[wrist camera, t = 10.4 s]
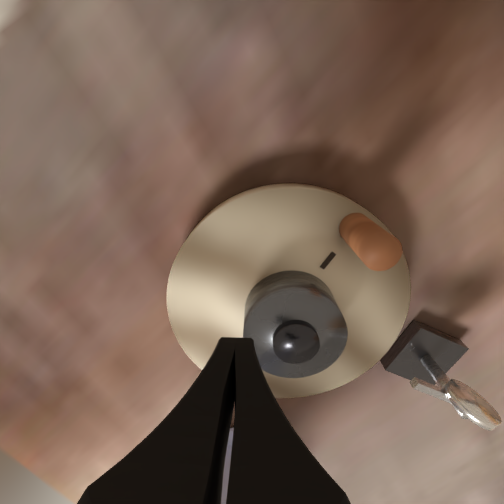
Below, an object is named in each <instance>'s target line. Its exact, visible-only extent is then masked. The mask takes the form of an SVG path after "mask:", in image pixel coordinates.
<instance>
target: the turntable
mask: <svg viewBox="0 0 504 504" xmlns="http://www.w3.org/2000/svg"><path fill="white" fill-rule="evenodd" d="M290 270H294V271H302V272H306V273H309V274H312V275H314V276H316V277H318V278H319V279H321V280H322V281H323V282H324V283H325V284H326V285H327V286H328V287H329V289H330V291H331V292H332V294H333V296H334V298H335V300H336V303H337V305H338V307H339V309H340V311H341V313H342V315H343V317H344V319H345V322H346V325H347V330H348V337H347V342H346V346H345V348H344V350H343V352H342V354H341V355H340V357H339V358H338V359H337V360H336V361H335V362H334V363H333V364H332V365H331V366H329V367H328V368H326V369H325V370H323V371H321V372H319V373H317V374H314V375H311V376H307V377H302V378H284V377H278V376H275V375H272V374H269V373H267V372H265V371H263V370H262V371H263V374H264V376H265V379H266V381H267V383H268V385H269V387H270V389H271V391H272V393H273V395H274V397H275V398H297V397H306V396H311V395H316V394H320V393H323V392H327V391H330V390H333V389H335V388H338V387H340V386H343V385H345V384H347V383H349V382H350V381H352V380H354V379H356V378H358V377H359V376H360V375H362V374H363V373H365V372H366V371H368V370H369V369H370V368H371V367H372V366H374V365H375V364H376V363H377V362H378V361H379V360H380V359H381V358H382V357H383V356H384V355H385V354H386V353H387V352H388V350H389V349H390V347H391V346H392V345H393V343H394V342H395V341H396V339H397V337H398V335H399V333H400V331H401V329H402V327H403V325H404V322H405V319H406V317H407V313H408V309H409V304H410V294H411V284H410V273H409V270H408V266H407V262H406V259H405V256H404V254H403V252H402V245H401V243H400V241H399V240H398V239H397V238H395V237H394V236H393V235H392V233H391V232H390V231H389V230H388V229H387V227H386V226H385V225H384V224H383V223H382V222H381V221H380V220H379V219H378V218H376V217H375V216H374V215H373V214H371V213H370V212H369V211H368V210H366V209H365V208H363V207H362V206H360V205H359V204H357V203H356V202H354V201H352V200H350V199H349V198H347V197H345V196H344V195H342V194H339V193H337V192H334V191H332V190H329V189H326V188H322V187H318V186H315V185H309V184H300V183H278V184H271V185H265V186H260V187H257V188H253V189H250V190H246V191H244V192H242V193H240V194H237V195H235V196H233V197H231V198H229V199H227V200H226V201H224V202H223V203H221V204H219V205H218V206H216V207H215V208H214V209H213V210H212V211H210V212H209V213H208V214H207V215H205V217H204V218H203V219H202V220H201V221H200V222H199V223H198V224H197V225H196V226H195V228H194V229H193V231H192V232H191V233H190V235H189V236H188V238H187V239H186V241H185V242H184V244H183V245H182V247H181V248H180V250H179V252H178V254H177V256H176V258H175V260H174V262H173V265H172V269H171V272H170V275H169V279H168V286H167V310H168V316H169V320H170V323H171V327H172V330H173V332H174V334H175V336H176V338H177V341H178V343H179V344H180V346H181V347H182V349H183V350H184V352H185V353H186V354H187V355H188V357H189V358H190V359H191V360H192V361H193V362H194V363H195V364H196V365H197V366H198V367H199V368H200V369H201V370H203V368H204V367H205V365H206V363H207V362H208V360H209V358H210V357H211V355H212V353H213V351H214V349H215V347H216V345H217V343H218V341H219V339H220V338H221V337H237V338H243V328H244V311H245V303H246V299H247V297H248V295H249V293H250V291H251V290H252V289H253V287H254V286H255V285H256V284H257V283H258V282H259V281H261V280H262V279H264V278H265V277H267V276H269V275H271V274H274V273H277V272H281V271H290Z"/></svg>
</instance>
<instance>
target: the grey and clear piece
mask: <svg viewBox="0 0 504 504" xmlns="http://www.w3.org/2000/svg"><path fill="white" fill-rule="evenodd" d="M467 350H468V348H467V347H466V346H465V345H464V344H463V343H462V342H461V341H460V340H459V339H456V338H454V337H452V336H450V335H447V334H445V333H443V332H440V331H438V330H436V329H434V328H431V327H429V326H427V325H425V324H422V323H420V322H418V321H415V320H413V321H412V323H411V324H410V325H409V326H408V327H407V329H406V330H405V331H404V332H403V334H402V335H401V336H400V337H399V338H398V340H397V341H396V342H395V343H394V345H393V346H392V347H391V348H390V349H389V351H388V352H387V353H386V354H385V356H384V357H383V358H382V359H381V360H380V361H381V363H382V365H383V367H384V368H385V370H386V371H389V372H391V373H394V374H396V375H399V376H401V377H404V378H406V379H409V380H411V381H410V384H411V385H412V387H413V389H415V390H418V391H420V392H423V393H426V394H428V395H431V396H433V397H436V398H438V399H441V400H443V401H446V402H448V403H451V404H452V406H453V407H454V409H455V410H456V411H457V413H458V414H459V415H460V417H461V418H463V419H469V420H471V421H472V422H473V423H475V424H476V425H478V426H480V427H482V428H484V429H486V430H490V431H492V430H494V429H495V428H496V427H497V426H498V425H500V424H501V418H500V416H499V414H498V413H497V412H496V410H495V409H494V408H493V407H492V406H491V405H490V404H489V403H488V402H487V401H486V400H485V399H484V398H483V397H482V396H481V395H480V394H478V393H477V392H476V391H474V390H473V389H472V388H470V387H469V386H467V385H466V384H464V383H462V382H460V381H458V380H454V379H451V380H450V379H449V378H448V377H447V375H446V374H445V373H446V372H447V371H448V370H449V369H450V368H451V367H452V366H453V365H454V364H455V363H456V362H457V361H458V360H459V359H460V358H461V357H462V356H463V354H464V353H465V352H466V351H467ZM435 384H437V385H438V386H435Z"/></svg>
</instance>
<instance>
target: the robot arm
mask: <svg viewBox="0 0 504 504" xmlns="http://www.w3.org/2000/svg"><path fill="white" fill-rule="evenodd" d="M234 401H235V419H234V428H230V426H231V420H232V413H233V407H234ZM77 504H351V503H350V501H349V499H348V497H347V495H346V493H345V492H344V491H343V490H342V489H341V488H340V487H339V485H338V484H337V483H336V482H335V481H334V480H333V479H332V478H331V476H330V475H329V474H328V473H327V472H326V471H325V470H324V468H323V467H322V466H321V465H320V464H319V462H318V461H317V460H316V459H315V457H314V456H313V455H312V454H311V452H310V451H309V450H308V448H307V447H306V446H305V444H304V443H303V441H302V440H301V439H300V437H299V436H298V435H297V433H296V432H295V430H294V429H293V427H292V426H291V424H290V423H289V421H288V420H287V418H286V416H285V415H284V413H283V411H282V410H281V408H280V406H279V405H278V403H277V401H276V399H275V397H274V395H273V393H272V391H271V389H270V387H269V385H268V383H267V381H266V379H265V376H264V374H263V371H262V369H261V366H260V364H259V361H258V358H257V355H256V351H255V347H254V340H253V339H252V338H237V337H221V338H220V339H219V341H218V343H217V345H216V347H215V349H214V351H213V353H212V355H211V357H210V358H209V360H208V362H207V363H206V365H205V367H204V368H203V370H202V371H201V373H200V375H199V376H198V378H197V379H196V380H195V382H194V383H193V384H192V386H191V387H190V389H189V390H188V391H187V393H186V394H185V395H184V397H183V398H182V399H181V400H180V402H179V403H178V404H177V405H176V406H175V407H174V409H173V410H172V411H171V412H170V413H169V414H168V415H167V416H166V418H165V419H164V420H163V421H162V422H161V423H160V424H159V425H158V426H157V427H156V428H155V429H154V430H153V431H152V432H151V433H150V434H149V435H148V436H147V437H146V438H145V439H144V440H143V441H142V442H141V443H140V444H138V445H137V446H136V447H135V448H134V449H133V450H132V451H131V452H130V453H129V454H128V455H126V456H125V457H124V458H123V459H122V460H121V461H119V462H118V463H117V464H116V465H114V466H113V467H112V468H111V469H110V470H108V471H107V472H106V473H105V474H103V475H102V476H101V477H100V478H98V479H97V480H96V481H95V482H93V483H92V484H91V485H89V486H88V487H87V489H86V490H85V492H84V493H83V495H82V496H81V498H80V500H79V501H78V503H77Z"/></svg>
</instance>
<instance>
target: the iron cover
mask: <svg viewBox="0 0 504 504" xmlns="http://www.w3.org/2000/svg"><path fill="white" fill-rule="evenodd" d="M347 337H348V330H347V325H346V322H345V319H344V317H343V315H342V313H341V311H340V309H339V307H338V305H337V303H336V300H335V298H334V296H333V294H332V292H331V291H330V289H329V287H328V286H327V285H326V284H325V283H324V282H323V281H322V280H321V279H319V278H318V277H316V276H314V275H312V274H309V273H306V272H302V271H294V270H290V271H281V272H277V273H274V274H271V275H269V276H267V277H265V278H264V279H262V280H261V281H259V282H258V283H257V284H256V285H255V286H254V287H253V289H252V290H251V291H250V293H249V295H248V297H247V299H246V303H245V311H244V328H243V338H252V339H253V340H254V347H255V351H256V355H257V358H258V361H259V364H260V366H261V369H262V370H263V371H265V372H267V373H269V374H272V375H275V376H278V377H284V378H302V377H307V376H311V375H314V374H317V373H319V372H321V371H323V370H325V369H326V368H328V367H329V366H331V365H332V364H333V363H334V362H335V361H336V360H337V359H338V358H339V357H340V355H341V354H342V352H343V350H344V348H345V346H346V342H347Z"/></svg>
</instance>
